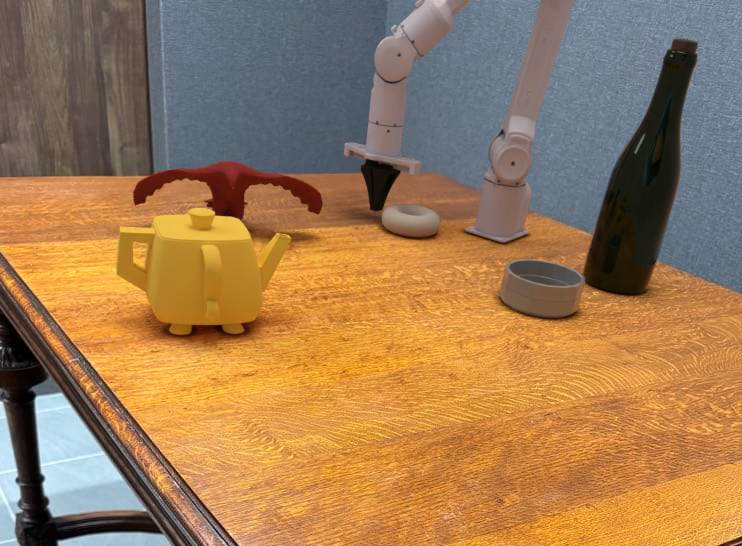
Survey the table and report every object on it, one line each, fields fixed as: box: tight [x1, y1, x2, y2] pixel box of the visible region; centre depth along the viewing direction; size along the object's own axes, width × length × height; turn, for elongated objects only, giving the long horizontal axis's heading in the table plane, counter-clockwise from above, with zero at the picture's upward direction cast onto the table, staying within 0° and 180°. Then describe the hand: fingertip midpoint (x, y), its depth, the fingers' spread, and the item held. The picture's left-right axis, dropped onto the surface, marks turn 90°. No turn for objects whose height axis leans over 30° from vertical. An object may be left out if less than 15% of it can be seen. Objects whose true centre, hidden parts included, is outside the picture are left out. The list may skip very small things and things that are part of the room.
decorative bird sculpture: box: [132, 160, 324, 221], centre depth 124 cm, size 28×9×15 cm
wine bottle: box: [581, 37, 699, 295], centre depth 117 cm, size 10×10×33 cm
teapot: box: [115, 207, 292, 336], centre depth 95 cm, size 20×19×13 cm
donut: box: [381, 203, 441, 238], centre depth 136 cm, size 10×4×10 cm
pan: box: [498, 258, 586, 319], centre depth 114 cm, size 11×11×4 cm
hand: (376, 209), depth 140 cm, fingers closed
